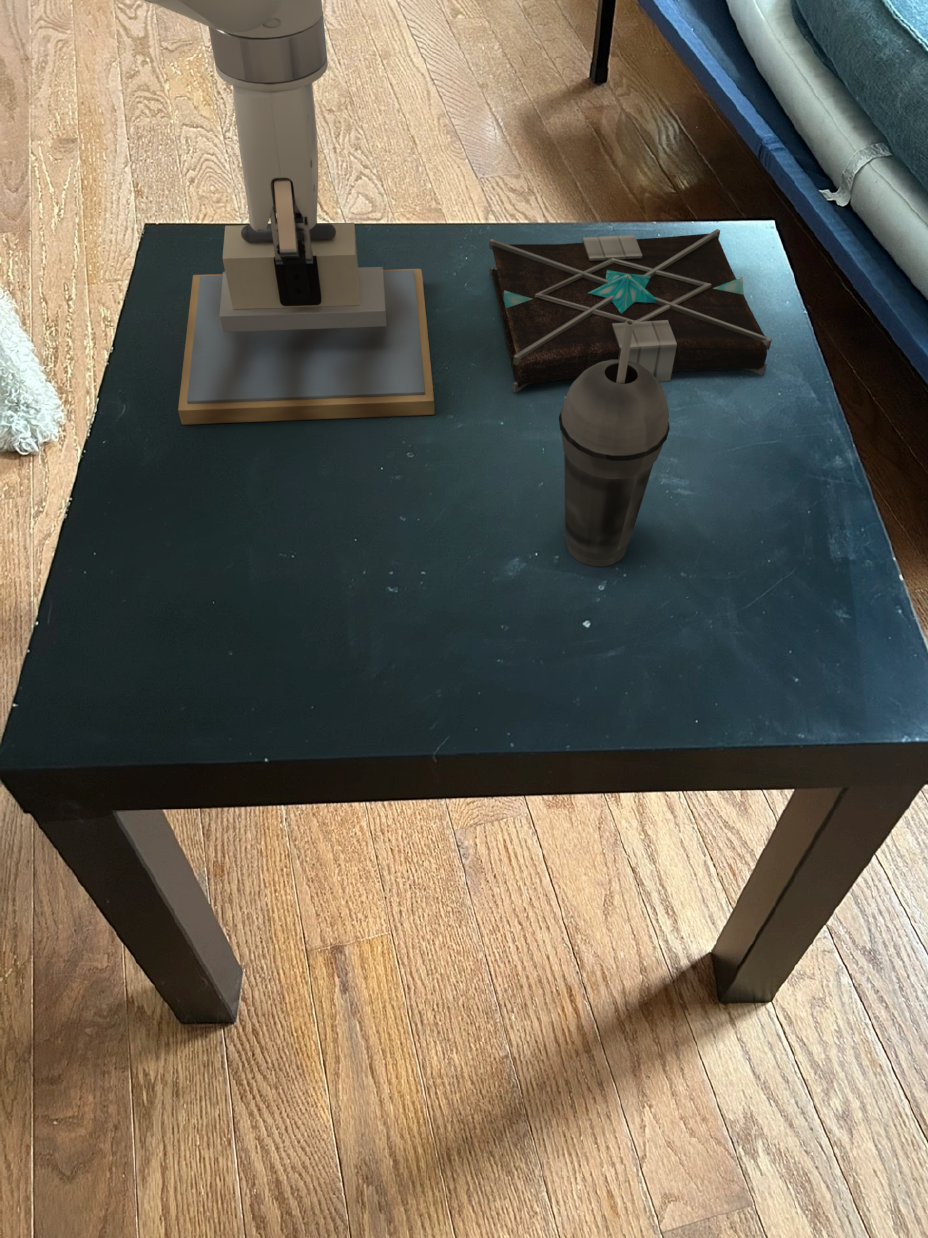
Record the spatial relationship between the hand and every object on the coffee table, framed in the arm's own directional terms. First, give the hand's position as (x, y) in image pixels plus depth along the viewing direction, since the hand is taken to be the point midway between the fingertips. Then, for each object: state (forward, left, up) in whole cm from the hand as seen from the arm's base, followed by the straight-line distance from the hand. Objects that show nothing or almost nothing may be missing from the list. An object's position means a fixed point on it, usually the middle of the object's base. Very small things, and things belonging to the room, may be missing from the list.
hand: (301, 281), depth 88 cm
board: (0, 0, -6) cm, 6 cm away
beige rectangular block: (0, 0, -2) cm, 2 cm away
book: (+27, +2, -7) cm, 28 cm away
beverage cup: (+21, -24, -7) cm, 33 cm away
